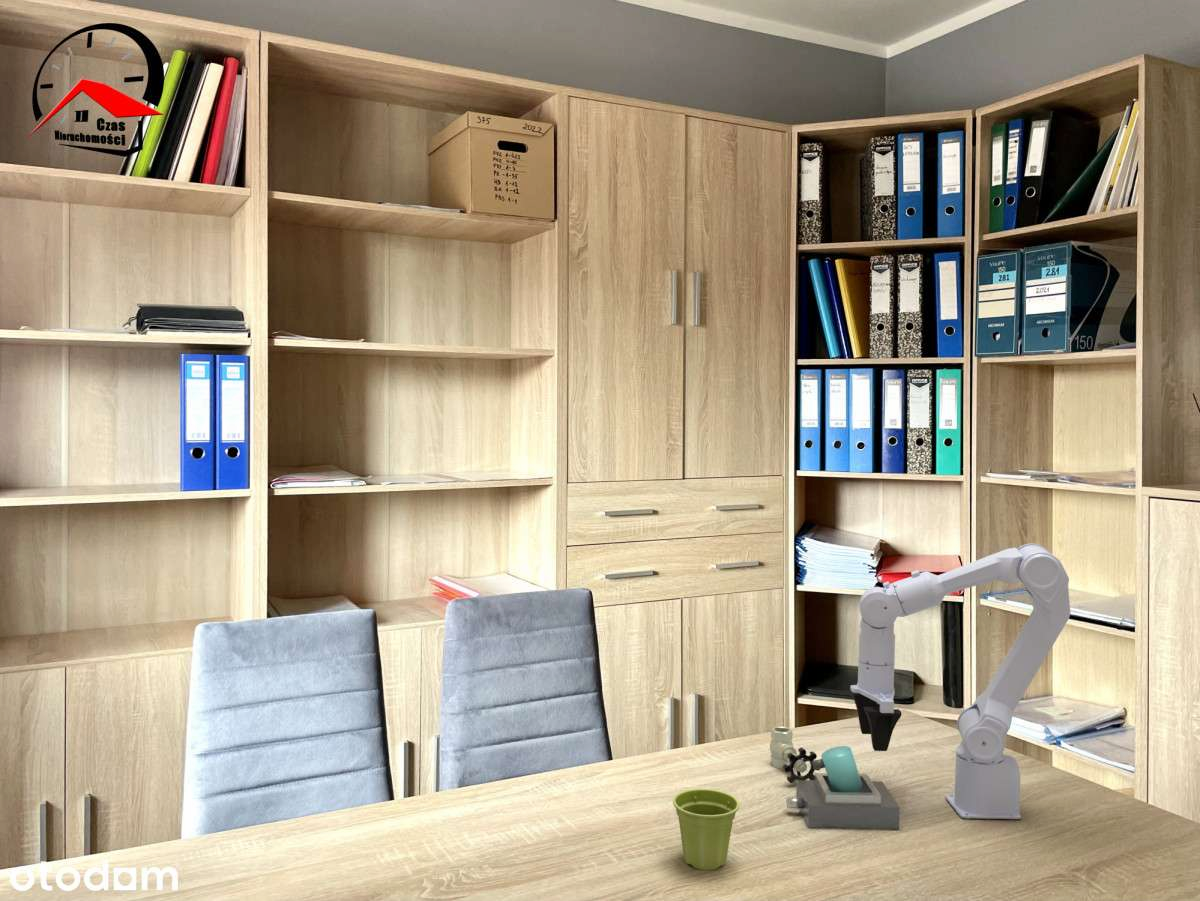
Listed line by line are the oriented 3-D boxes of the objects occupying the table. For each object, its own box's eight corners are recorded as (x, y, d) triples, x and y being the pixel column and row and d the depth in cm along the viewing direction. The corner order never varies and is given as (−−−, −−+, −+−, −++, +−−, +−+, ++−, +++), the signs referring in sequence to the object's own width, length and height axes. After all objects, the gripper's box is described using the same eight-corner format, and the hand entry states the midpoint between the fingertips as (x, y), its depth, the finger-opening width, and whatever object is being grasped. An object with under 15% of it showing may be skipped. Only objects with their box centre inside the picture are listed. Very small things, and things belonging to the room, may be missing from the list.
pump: (861, 778, 158) (850, 743, 158) (863, 791, 153) (851, 755, 153) (822, 787, 159) (811, 752, 159) (822, 800, 154) (810, 764, 154)
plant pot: (670, 844, 145) (671, 787, 145) (734, 846, 145) (735, 788, 144) (673, 875, 136) (674, 814, 135) (741, 877, 136) (742, 816, 135)
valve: (759, 762, 178) (784, 788, 166) (760, 726, 178) (785, 750, 166) (793, 759, 179) (820, 786, 168) (794, 724, 179) (821, 748, 167)
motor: (881, 802, 161) (882, 772, 161) (899, 829, 151) (900, 797, 151) (781, 800, 161) (782, 770, 161) (792, 827, 151) (793, 796, 151)
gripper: (841, 649, 169) (839, 726, 170) (863, 673, 154) (860, 757, 155) (882, 649, 169) (880, 726, 170) (908, 674, 154) (905, 758, 155)
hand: (873, 741), depth 162 cm, fingers open, 7 cm apart
